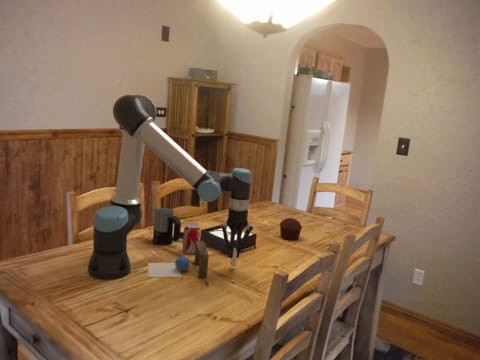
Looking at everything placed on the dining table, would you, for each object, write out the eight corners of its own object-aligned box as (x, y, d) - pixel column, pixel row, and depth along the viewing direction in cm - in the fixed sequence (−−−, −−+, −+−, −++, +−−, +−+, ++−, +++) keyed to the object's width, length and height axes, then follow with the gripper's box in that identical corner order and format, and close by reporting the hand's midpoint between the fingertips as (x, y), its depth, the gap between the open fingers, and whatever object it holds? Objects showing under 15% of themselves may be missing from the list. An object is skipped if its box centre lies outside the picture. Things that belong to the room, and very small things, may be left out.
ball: (189, 273, 152) (175, 273, 151) (188, 267, 158) (174, 266, 156) (191, 260, 151) (176, 259, 150) (189, 254, 156) (175, 253, 155)
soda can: (195, 256, 169) (197, 229, 166) (179, 253, 170) (181, 226, 167) (200, 250, 175) (202, 224, 173) (185, 247, 177) (187, 221, 174)
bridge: (198, 278, 149) (200, 255, 147) (194, 262, 163) (196, 240, 161) (206, 278, 150) (208, 255, 148) (201, 262, 163) (203, 240, 161)
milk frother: (148, 243, 178) (149, 211, 174) (163, 232, 193) (165, 203, 189) (178, 249, 174) (180, 216, 171) (191, 237, 189) (193, 207, 186)
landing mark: (148, 277, 146) (148, 277, 146) (148, 263, 157) (148, 263, 157) (181, 277, 149) (181, 276, 148) (178, 263, 160) (178, 263, 160)
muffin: (304, 241, 199) (307, 222, 197) (285, 242, 195) (287, 223, 193) (293, 233, 210) (295, 215, 207) (274, 234, 205) (276, 215, 203)
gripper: (223, 210, 149) (218, 269, 154) (257, 211, 152) (251, 269, 157) (220, 205, 156) (215, 261, 161) (252, 206, 159) (246, 261, 164)
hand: (233, 265), depth 159 cm, fingers closed
